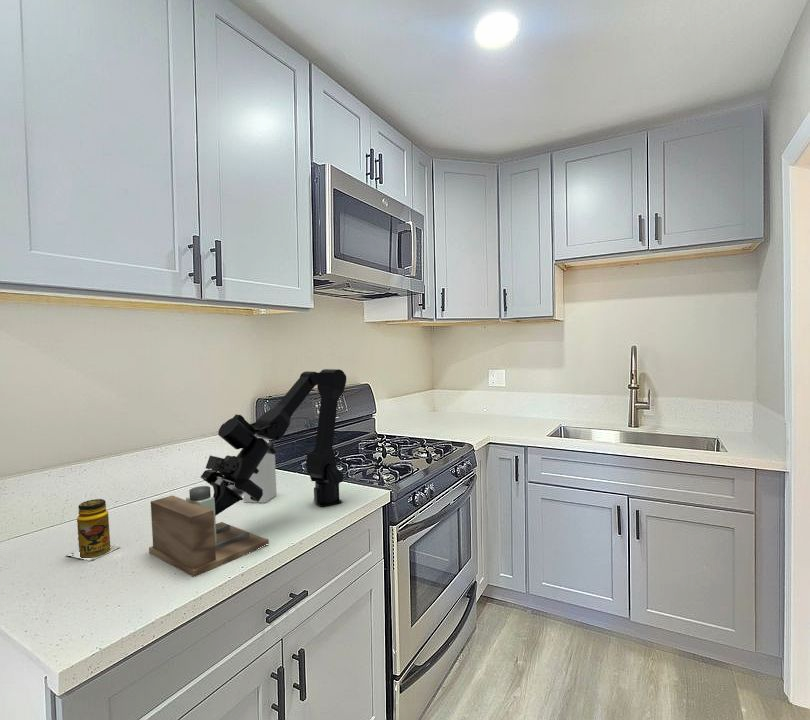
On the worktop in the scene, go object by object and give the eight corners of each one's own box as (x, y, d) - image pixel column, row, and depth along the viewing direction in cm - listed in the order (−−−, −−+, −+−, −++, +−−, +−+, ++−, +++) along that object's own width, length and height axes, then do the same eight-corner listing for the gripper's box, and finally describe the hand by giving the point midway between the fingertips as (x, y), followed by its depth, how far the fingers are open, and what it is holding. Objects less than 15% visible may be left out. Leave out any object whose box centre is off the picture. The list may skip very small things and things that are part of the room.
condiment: (90, 561, 105) (87, 508, 104) (65, 556, 108) (61, 505, 108) (120, 548, 112) (117, 498, 111) (96, 543, 115) (93, 494, 114)
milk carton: (265, 503, 140) (262, 440, 139) (243, 502, 141) (241, 439, 140) (276, 495, 147) (274, 435, 146) (255, 494, 148) (253, 435, 147)
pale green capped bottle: (204, 538, 112) (202, 484, 111) (218, 544, 108) (215, 488, 108) (186, 545, 108) (183, 489, 108) (200, 551, 105) (197, 494, 104)
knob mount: (221, 526, 123) (219, 481, 123) (268, 544, 111) (266, 494, 110) (149, 552, 109) (146, 501, 108) (193, 576, 96) (190, 519, 96)
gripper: (205, 437, 119) (164, 493, 111) (249, 445, 107) (206, 508, 99) (235, 461, 125) (197, 515, 117) (279, 471, 114) (241, 532, 106)
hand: (209, 517), depth 110 cm, fingers closed, pressing on pale green capped bottle
